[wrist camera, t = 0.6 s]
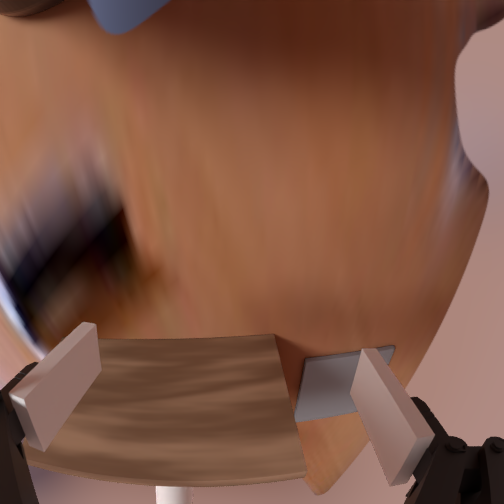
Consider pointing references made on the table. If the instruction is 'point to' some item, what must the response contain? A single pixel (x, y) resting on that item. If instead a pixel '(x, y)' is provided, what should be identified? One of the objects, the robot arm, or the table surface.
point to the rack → (181, 416)
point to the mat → (330, 385)
